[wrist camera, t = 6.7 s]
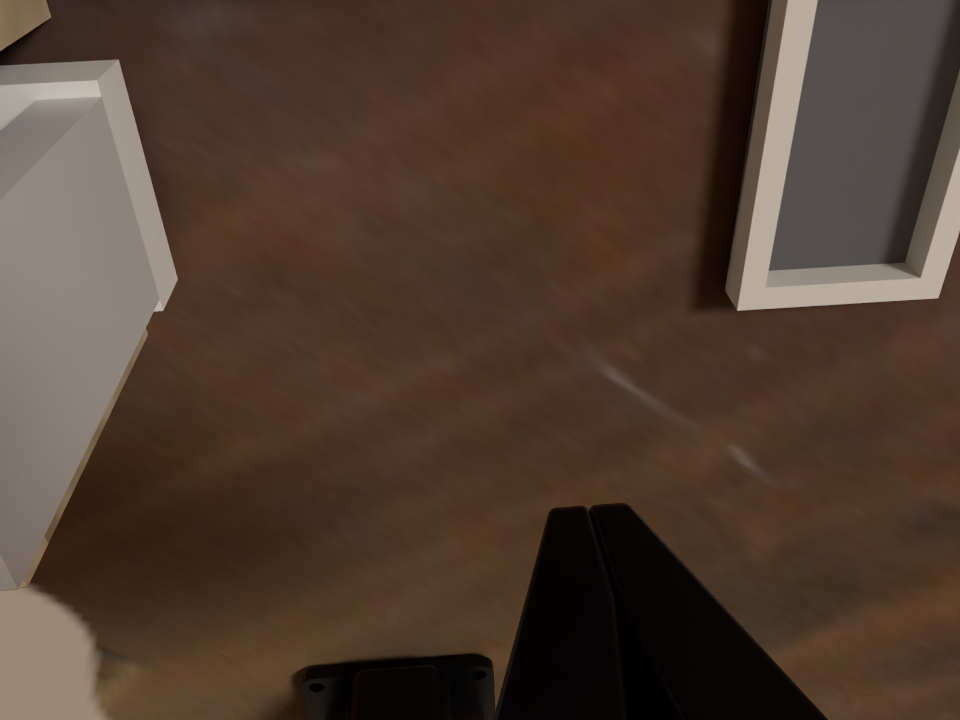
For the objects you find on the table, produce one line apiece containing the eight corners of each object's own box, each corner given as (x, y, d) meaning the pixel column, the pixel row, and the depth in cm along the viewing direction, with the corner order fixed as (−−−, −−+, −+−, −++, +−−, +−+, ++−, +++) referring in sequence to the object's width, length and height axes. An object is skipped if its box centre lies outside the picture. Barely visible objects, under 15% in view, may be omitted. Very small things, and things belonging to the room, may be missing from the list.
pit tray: (918, 278, 22) (938, 298, 21) (724, 290, 21) (736, 310, 21) (1022, -71, 17) (1052, -62, 16) (777, -59, 17) (796, -51, 16)
